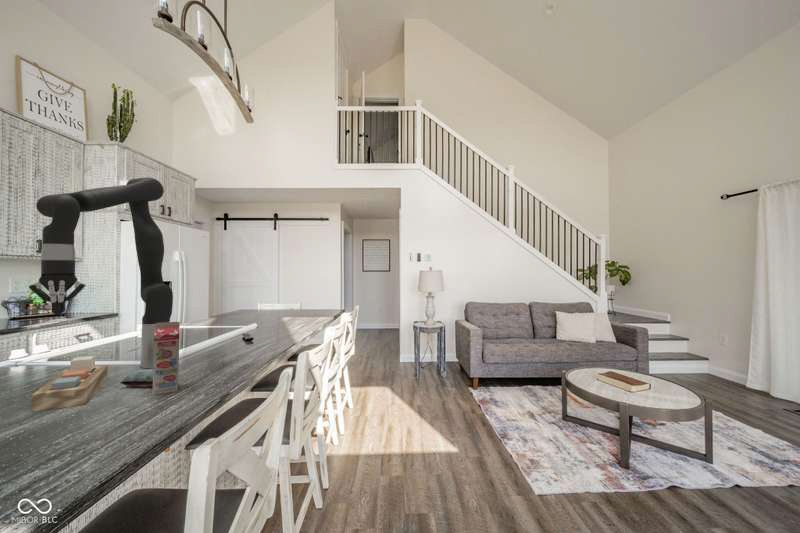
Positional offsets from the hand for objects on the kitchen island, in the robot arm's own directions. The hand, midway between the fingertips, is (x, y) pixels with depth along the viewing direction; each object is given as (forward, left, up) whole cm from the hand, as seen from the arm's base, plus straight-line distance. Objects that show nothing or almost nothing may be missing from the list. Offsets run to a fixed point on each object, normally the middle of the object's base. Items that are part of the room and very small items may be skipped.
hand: (58, 314), depth 106 cm
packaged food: (-23, +2, -25) cm, 34 cm away
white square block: (-5, -5, -20) cm, 21 cm away
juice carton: (-29, +12, -25) cm, 40 cm away
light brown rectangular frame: (-5, +3, -25) cm, 25 cm away
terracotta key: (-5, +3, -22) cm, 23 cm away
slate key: (-5, +11, -22) cm, 25 cm away
